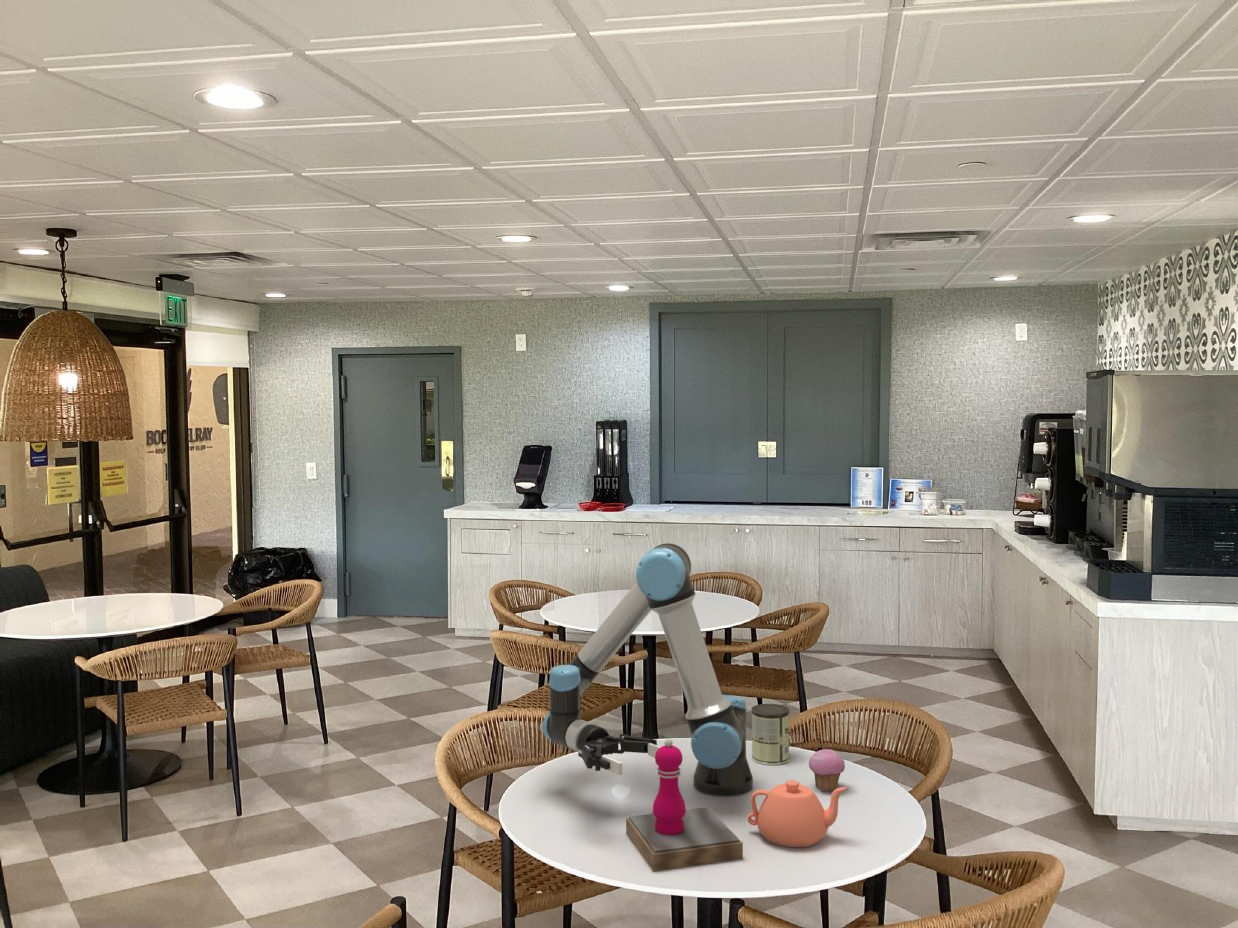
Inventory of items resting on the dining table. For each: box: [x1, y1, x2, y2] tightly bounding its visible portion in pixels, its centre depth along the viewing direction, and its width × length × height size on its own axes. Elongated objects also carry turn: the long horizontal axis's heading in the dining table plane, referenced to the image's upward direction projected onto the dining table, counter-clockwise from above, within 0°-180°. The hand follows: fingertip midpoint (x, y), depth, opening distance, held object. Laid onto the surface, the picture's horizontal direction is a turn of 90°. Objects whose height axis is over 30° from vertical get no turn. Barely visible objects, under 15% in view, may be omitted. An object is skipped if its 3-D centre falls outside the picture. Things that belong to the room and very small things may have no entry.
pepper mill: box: [652, 738, 686, 835], centre depth 216 cm, size 7×7×20 cm
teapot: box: [747, 779, 848, 848], centre depth 221 cm, size 22×16×12 cm
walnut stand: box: [625, 806, 744, 872], centre depth 217 cm, size 20×20×4 cm
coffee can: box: [750, 703, 790, 766], centre depth 272 cm, size 10×10×14 cm
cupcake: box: [808, 748, 846, 792], centre depth 250 cm, size 9×9×10 cm
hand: (644, 762), depth 222 cm, fingers open, 13 cm apart
